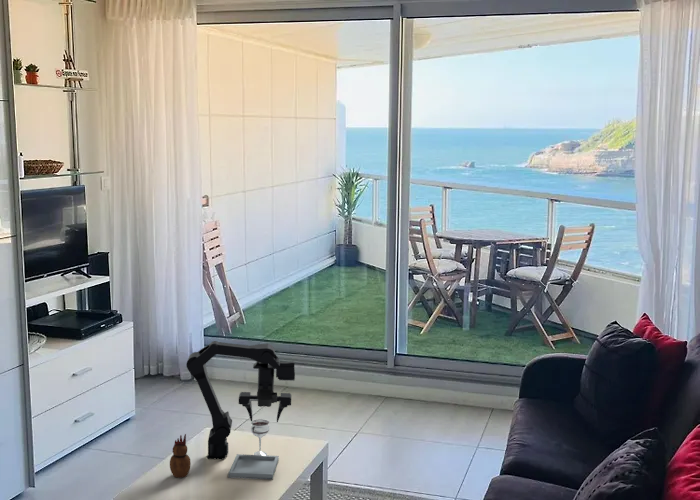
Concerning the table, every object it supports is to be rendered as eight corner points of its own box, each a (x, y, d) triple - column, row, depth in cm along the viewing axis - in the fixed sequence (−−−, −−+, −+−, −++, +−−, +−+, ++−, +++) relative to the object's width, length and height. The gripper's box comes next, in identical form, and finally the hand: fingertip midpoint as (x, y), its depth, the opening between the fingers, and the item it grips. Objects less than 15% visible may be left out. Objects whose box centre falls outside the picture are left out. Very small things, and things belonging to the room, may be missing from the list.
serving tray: (228, 477, 259) (228, 472, 259) (237, 458, 274) (237, 454, 274) (272, 479, 258) (272, 474, 258) (278, 460, 273) (278, 455, 273)
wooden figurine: (193, 473, 261) (193, 432, 259) (184, 481, 256) (184, 438, 254) (176, 470, 264) (175, 429, 261) (167, 477, 258) (166, 435, 256)
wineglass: (256, 448, 283) (256, 418, 281) (272, 452, 280) (272, 420, 279) (247, 456, 277) (247, 424, 275) (264, 459, 274) (264, 427, 272)
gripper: (238, 386, 265) (236, 429, 267) (291, 388, 266) (290, 430, 269) (240, 376, 276) (239, 417, 278) (292, 377, 277) (290, 418, 280)
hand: (264, 421), depth 276 cm, fingers open, 9 cm apart
